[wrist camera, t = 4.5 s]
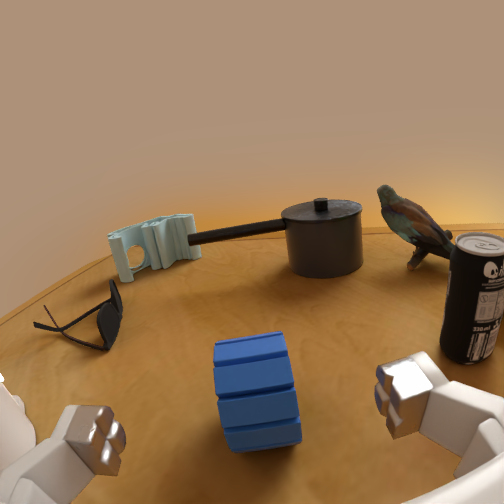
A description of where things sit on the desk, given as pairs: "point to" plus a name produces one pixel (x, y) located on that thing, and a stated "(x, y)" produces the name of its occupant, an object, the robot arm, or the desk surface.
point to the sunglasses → (106, 320)
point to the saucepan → (308, 236)
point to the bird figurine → (414, 226)
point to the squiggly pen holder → (154, 243)
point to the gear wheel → (256, 393)
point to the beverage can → (473, 297)
